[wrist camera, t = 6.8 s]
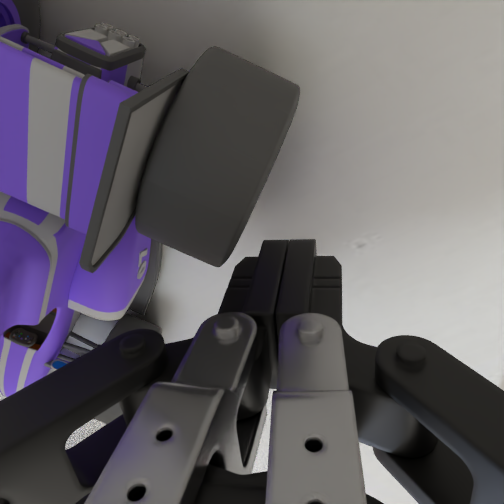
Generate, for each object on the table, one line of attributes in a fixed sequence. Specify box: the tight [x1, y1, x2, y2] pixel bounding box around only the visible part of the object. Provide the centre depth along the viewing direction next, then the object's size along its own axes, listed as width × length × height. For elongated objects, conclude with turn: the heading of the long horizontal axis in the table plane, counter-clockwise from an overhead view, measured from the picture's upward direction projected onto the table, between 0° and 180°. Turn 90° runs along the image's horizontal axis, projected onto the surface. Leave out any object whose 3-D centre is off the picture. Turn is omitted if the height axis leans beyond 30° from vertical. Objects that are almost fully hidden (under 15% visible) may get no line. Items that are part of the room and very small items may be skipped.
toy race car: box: [0, 0, 300, 424], centre depth 13 cm, size 10×15×6 cm, turn 157°
